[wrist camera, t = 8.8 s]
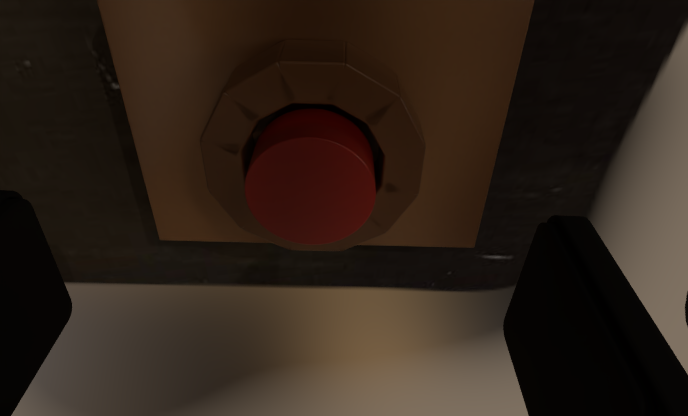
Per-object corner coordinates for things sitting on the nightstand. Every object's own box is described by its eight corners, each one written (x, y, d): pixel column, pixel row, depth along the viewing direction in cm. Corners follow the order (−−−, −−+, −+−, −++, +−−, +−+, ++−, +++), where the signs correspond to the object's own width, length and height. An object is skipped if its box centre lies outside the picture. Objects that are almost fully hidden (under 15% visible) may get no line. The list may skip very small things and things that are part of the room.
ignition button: (377, 108, 14) (380, 139, 12) (369, 211, 16) (372, 247, 14) (248, 105, 14) (237, 135, 12) (258, 208, 16) (250, 244, 14)
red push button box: (513, -20, 15) (558, 17, 12) (463, 213, 20) (485, 282, 17) (122, -31, 15) (60, 3, 12) (175, 206, 20) (143, 274, 17)
